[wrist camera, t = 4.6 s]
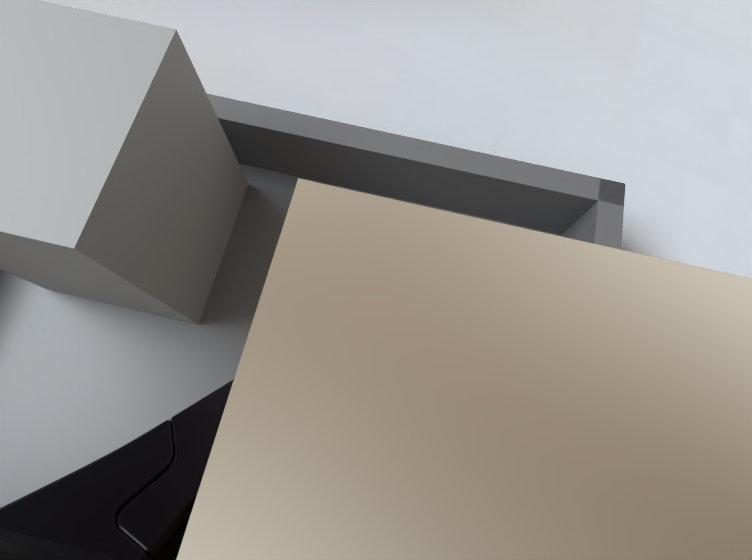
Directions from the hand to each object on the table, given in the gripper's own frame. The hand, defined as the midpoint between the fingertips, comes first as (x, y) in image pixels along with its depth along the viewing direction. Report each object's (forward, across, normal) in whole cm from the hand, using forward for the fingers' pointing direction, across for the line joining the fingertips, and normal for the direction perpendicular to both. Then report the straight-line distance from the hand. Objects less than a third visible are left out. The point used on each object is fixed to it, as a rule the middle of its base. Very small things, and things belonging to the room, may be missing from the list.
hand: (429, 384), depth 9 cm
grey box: (+7, +10, +2) cm, 12 cm away
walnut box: (+3, 0, +5) cm, 6 cm away
